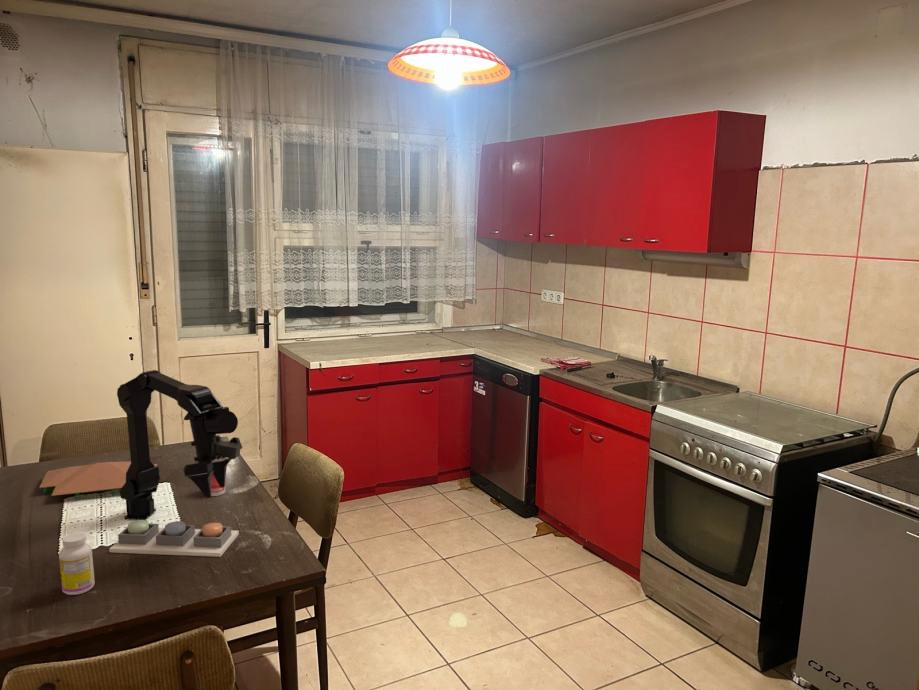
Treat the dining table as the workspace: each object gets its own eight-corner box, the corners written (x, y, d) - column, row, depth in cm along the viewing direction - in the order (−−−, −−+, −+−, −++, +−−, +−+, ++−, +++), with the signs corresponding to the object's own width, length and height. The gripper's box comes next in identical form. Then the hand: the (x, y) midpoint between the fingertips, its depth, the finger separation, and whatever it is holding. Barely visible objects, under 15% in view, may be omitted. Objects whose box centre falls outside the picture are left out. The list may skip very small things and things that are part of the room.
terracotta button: (199, 539, 178) (199, 530, 177) (207, 530, 183) (206, 522, 182) (218, 539, 178) (218, 531, 177) (225, 531, 183) (225, 522, 182)
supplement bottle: (70, 581, 161) (66, 530, 159) (99, 580, 162) (95, 530, 159) (56, 596, 154) (51, 543, 152) (87, 595, 155) (82, 543, 153)
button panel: (109, 552, 175) (108, 539, 175) (135, 530, 188) (134, 518, 187) (220, 556, 174) (219, 544, 174) (238, 534, 187) (238, 522, 186)
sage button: (124, 536, 179) (124, 527, 178) (134, 527, 184) (133, 519, 183) (143, 536, 178) (142, 528, 178) (152, 528, 183) (152, 520, 183)
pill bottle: (228, 494, 214) (226, 460, 212) (208, 498, 210) (206, 464, 209) (222, 487, 219) (221, 455, 217) (203, 491, 216) (201, 458, 214)
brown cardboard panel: (156, 493, 214) (154, 469, 213) (34, 507, 202) (32, 481, 201) (158, 469, 235) (157, 446, 234) (48, 480, 223) (46, 456, 222)
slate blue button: (162, 537, 178) (161, 529, 178) (170, 529, 183) (170, 520, 183) (180, 538, 178) (180, 529, 178) (189, 529, 183) (188, 521, 183)
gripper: (220, 437, 170) (232, 498, 171) (246, 423, 188) (257, 477, 189) (177, 444, 170) (189, 505, 171) (207, 429, 189) (218, 484, 190)
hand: (216, 492), depth 180 cm, fingers open, 9 cm apart
